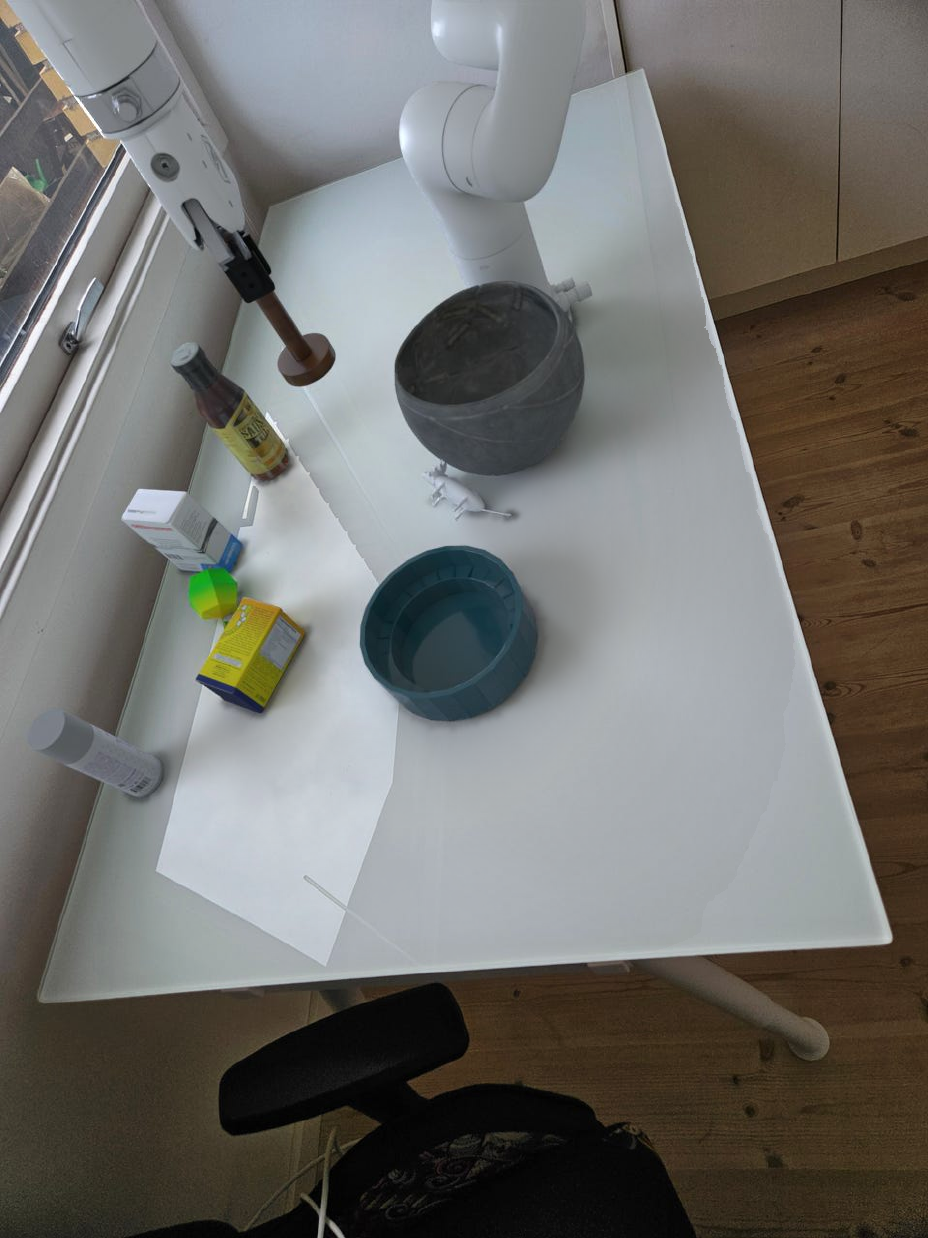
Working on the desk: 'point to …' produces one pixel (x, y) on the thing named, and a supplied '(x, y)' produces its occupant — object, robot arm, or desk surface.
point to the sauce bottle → (231, 414)
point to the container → (94, 752)
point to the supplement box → (251, 654)
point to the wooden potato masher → (297, 345)
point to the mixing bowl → (449, 633)
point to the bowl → (491, 378)
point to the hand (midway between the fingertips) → (258, 285)
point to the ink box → (182, 530)
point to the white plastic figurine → (454, 491)
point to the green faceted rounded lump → (213, 594)
